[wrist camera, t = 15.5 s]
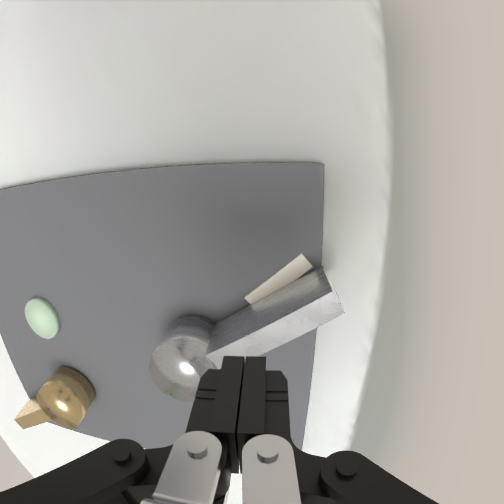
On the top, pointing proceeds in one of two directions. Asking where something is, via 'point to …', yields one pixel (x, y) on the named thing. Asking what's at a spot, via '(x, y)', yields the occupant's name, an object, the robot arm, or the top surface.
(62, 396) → the brass door handle
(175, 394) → the chrome lever handle
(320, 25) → the top surface
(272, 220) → the board
